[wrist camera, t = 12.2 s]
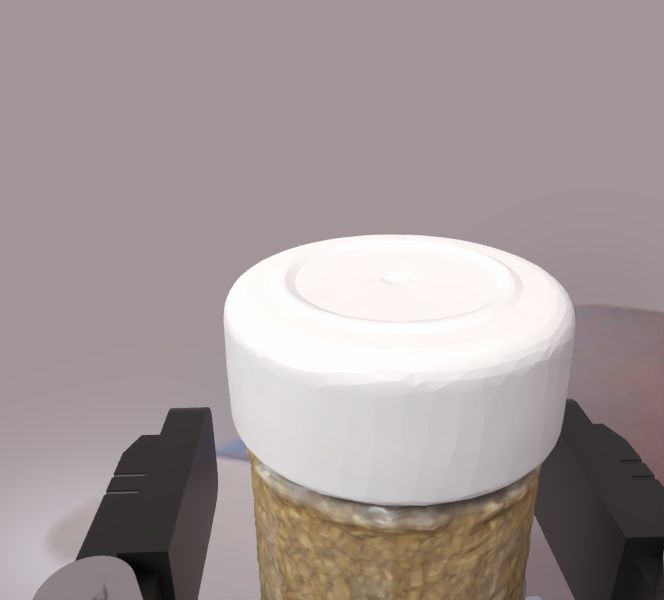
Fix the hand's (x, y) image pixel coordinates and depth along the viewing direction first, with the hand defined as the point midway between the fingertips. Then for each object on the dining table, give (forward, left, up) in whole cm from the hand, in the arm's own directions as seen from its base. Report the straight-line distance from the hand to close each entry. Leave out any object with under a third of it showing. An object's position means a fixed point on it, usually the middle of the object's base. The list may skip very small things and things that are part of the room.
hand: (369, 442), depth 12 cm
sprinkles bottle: (0, -2, -9) cm, 10 cm away
